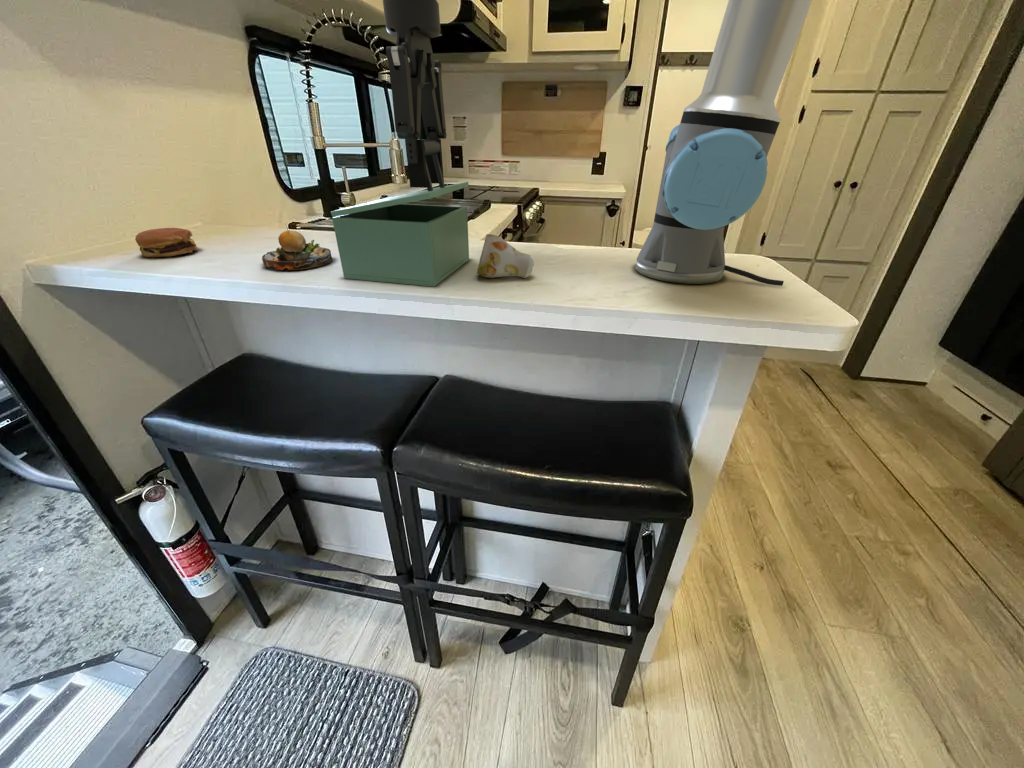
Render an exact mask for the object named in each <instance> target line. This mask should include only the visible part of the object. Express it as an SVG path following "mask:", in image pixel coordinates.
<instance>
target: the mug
mask: <svg viewBox="0 0 1024 768" xmlns="http://www.w3.org/2000/svg"><path fill="white" fill-rule="evenodd" d="M534 266H535V261H534V258H533V256H532V255H531V254H527V253H525V252H522V251H519V250H518V249H516V248H515V247H514V246H512V245H511V244H510V243H508V242H507V241H506V240H505V239H503V238H502V237H500V236H498V235H496V234H492V233H491V234H490V233H489V234H488V233H487V234H486V235H485V238H484V243H483V246H482V250H481V253H480V258H479V261H478V265H477V269H476V274H477V275H479V276H481V277H484V278H488V279H489V278H490V279H493V278H501V277H509V276H510V277H511V276H512V277H518V278H524V279H526V278H528V277H529V276H531V274H532V273H533V269H534Z"/></svg>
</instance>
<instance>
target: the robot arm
mask: <svg viewBox="0 0 1024 768" xmlns="http://www.w3.org/2000/svg"><path fill="white" fill-rule="evenodd" d="M812 2H813V0H727V5H726V7H725V12H724V15H723V18H722V22H721V25H720V28H719V32H718V35H717V38H716V41H715V45H714V48H713V52H712V56H711V58H710V62H709V66H708V69H707V72H706V75H705V79H704V82H703V86H702V89H701V93H700V94H699V96H698V97H697V98H695V100H694V101H692V102H691V103H690V104H688V105H687V106H686V107H684V109H683V112H682V116H681V119H680V122H679V124H678V125H677V124H676V125H675V127H673V128H672V129H671V131H670V133H669V136H668V141H667V142H666V145H665V156H664V162H663V168H662V174H661V178H660V179H661V180H660V185H659V191H658V195H657V201H656V206H655V212H654V219H653V223H652V227H651V229H650V231H649V232H648V234H647V237H646V238H645V241H644V243H643V245H642V247H641V249H640V251H639V253H638V255H637V257H636V262H635V267H634V268H635V270H636V271H637V272H638V273H639V274H641V275H643V276H645V277H648V278H651V279H654V280H657V281H661V282H662V281H663V282H669V283H674V284H685V285H686V284H688V285H701V284H703V285H704V284H712V283H715V282H718V281H720V280H722V279H723V277H724V273H725V272H729V273H732V274H735V275H739V276H741V277H744V278H748V279H750V280H753V281H756V282H758V283H762V284H765V285H771V286H779V287H783V285H784V282H785V281H784V280H779V279H773V278H772V279H770V278H767V277H763V276H760V275H757V274H754V273H752V272H750V271H746V270H742V269H740V268H736V267H733V266H730V265H726V256H725V253H726V252H725V240H724V230H725V226H728V225H731V224H733V223H734V222H736V221H737V220H739V219H740V218H742V217H743V216H745V214H747V213H748V212H749V211H750V210H751V209H752V208H753V207H754V205H755V204H756V202H757V201H758V199H759V197H760V196H761V194H762V192H763V189H764V187H765V184H766V181H767V177H768V176H767V175H768V159H767V157H768V155H769V152H770V150H771V147H772V144H773V142H774V139H775V136H776V134H777V132H778V128H779V126H780V124H781V120H782V119H781V116H780V114H779V112H778V110H777V107H776V105H775V100H776V97H777V94H778V91H779V89H780V86H781V84H782V81H783V78H784V76H785V73H786V71H787V67H788V66H789V62H790V61H791V57H792V54H793V52H794V49H795V46H796V44H797V41H798V39H799V36H800V33H801V31H802V28H803V26H804V23H805V20H806V17H807V15H808V12H809V10H810V6H811V4H812ZM382 6H383V15H384V24H385V29H386V31H387V33H388V34H389V35H391V36H393V37H395V38H396V41H395V45H394V46H393V45H392V46H391V45H390V46H389V45H388V46H386V47H385V54H386V59H387V63H388V67H389V75H390V77H389V78H390V87H391V88H390V89H391V96H392V106H393V119H394V129H395V132H396V137H397V138H398V139H399V140H404V143H405V145H404V146H405V153H406V162H407V170H408V179H409V187H410V188H423V189H427V187H428V182H427V171H426V163H427V167H428V171H429V175H430V179H431V183H432V184H439V182H438V178H437V173H436V169H435V165H434V161H433V157H432V155H426V156H425V149H424V140H418V139H421V127H422V125H421V123H423V128H424V133H425V137H426V139H435V140H437V141H438V142H439V144H440V151H439V153H438V154H437V155H438V160H439V164H440V168H441V172H442V177H443V181H444V182H445V178H444V164H443V152H442V150H443V149H442V140H446V139H447V127H446V116H445V115H446V113H445V104H444V94H443V81H442V73H443V72H442V68H443V65H442V61H441V60H440V59H435V58H434V53H433V48H432V43H431V40H432V39H433V38H437V37H439V35H440V34H441V16H440V15H441V14H440V3H439V2H438V0H382ZM421 117H422V118H421ZM421 120H422V121H421ZM425 159H426V160H425Z"/></svg>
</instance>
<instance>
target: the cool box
mask: <svg viewBox="0 0 1024 768" xmlns="http://www.w3.org/2000/svg"><path fill="white" fill-rule="evenodd" d="M331 220H332V225H333V230H334V234H335V240H336V245H337V250H338V254H339V259H340V264H341V265H340V266H341V270H342V274H343V278H344V279H348V280H349V279H350V280H360V281H371V282H381V283H389V284H390V283H391V284H402V285H414V286H424V287H436V286H437V285H439V284H440V283H441V282H442V281H444V280H445V279H446V278H447V277H449V276H450V275H452V274H453V273H454V272H456V271H457V270H458V269H460V268H461V267H462V266H463V265H465V264H466V263H467V262H468V261H470V247H469V246H470V245H469V221H468V220H469V217H468V207H467V206H457V205H439V204H420V203H419V204H417V203H416V204H415V203H404V204H399V205H393V206H388V207H383V208H378V209H372V210H367V211H362V212H357V213H351V214H346V215H341V216H336V217H332V216H331Z"/></svg>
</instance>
